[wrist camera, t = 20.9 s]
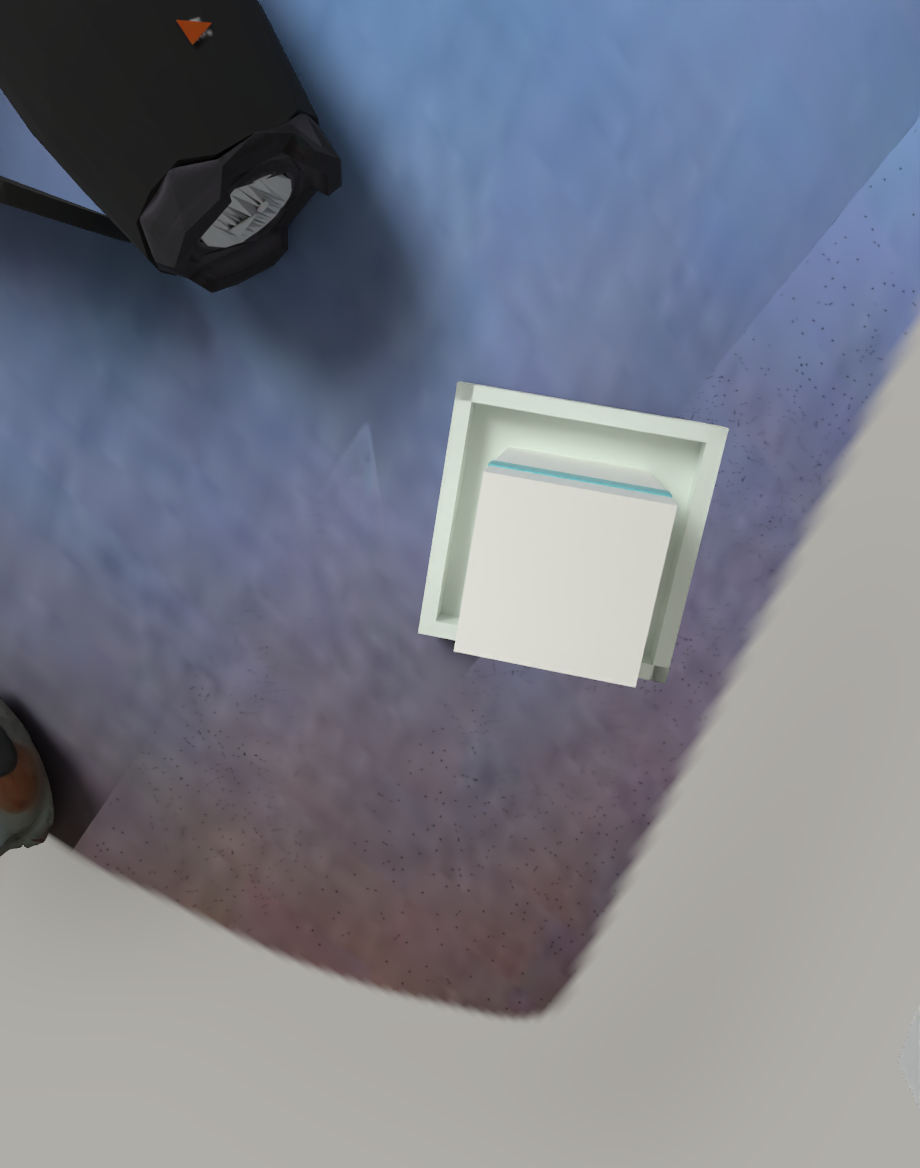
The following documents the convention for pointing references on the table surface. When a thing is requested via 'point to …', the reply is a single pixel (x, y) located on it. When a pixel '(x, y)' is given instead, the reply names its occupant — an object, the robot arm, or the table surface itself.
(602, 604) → the block
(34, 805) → the lucky cat figurine
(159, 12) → the portable speaker
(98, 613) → the table surface
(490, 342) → the table surface
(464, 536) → the tray
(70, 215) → the camcorder
